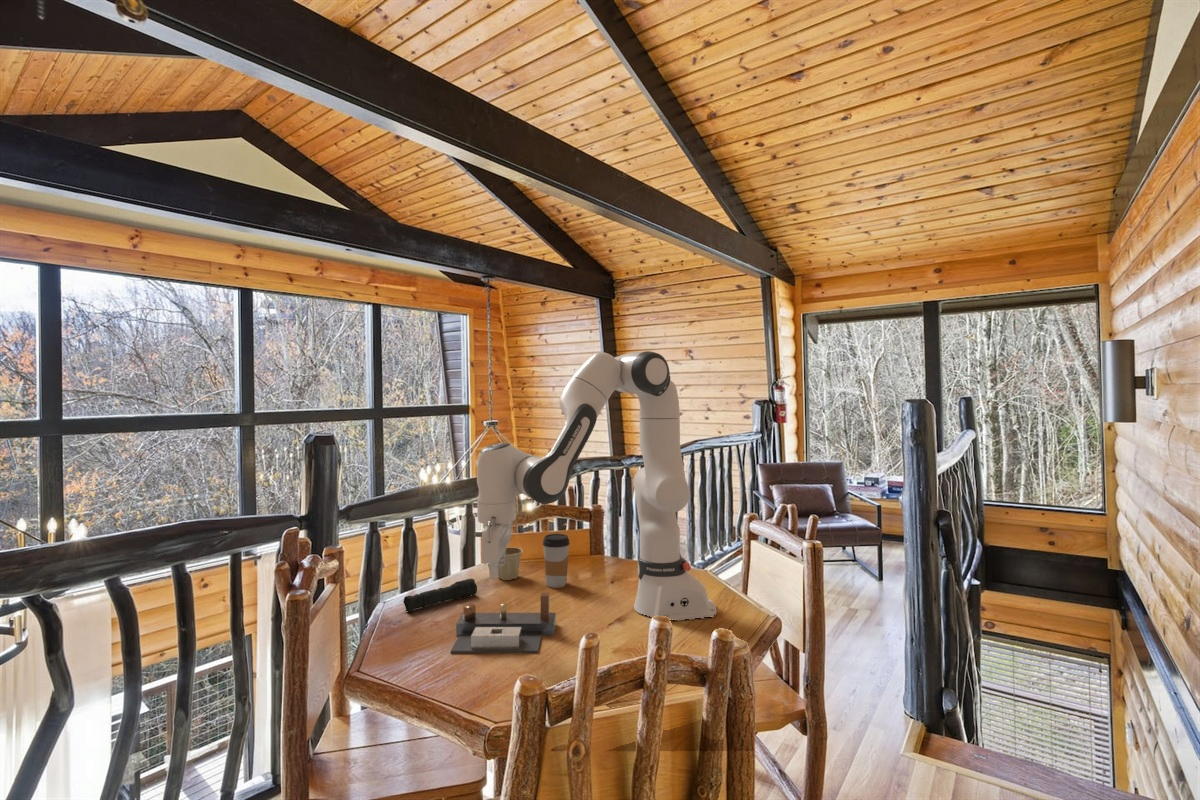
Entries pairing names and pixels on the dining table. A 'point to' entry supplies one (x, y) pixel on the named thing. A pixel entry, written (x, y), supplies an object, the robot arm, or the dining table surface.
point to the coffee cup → (556, 559)
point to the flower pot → (510, 564)
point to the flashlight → (441, 594)
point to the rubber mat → (526, 646)
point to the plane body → (509, 620)
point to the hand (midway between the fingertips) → (497, 571)
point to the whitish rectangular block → (496, 638)
